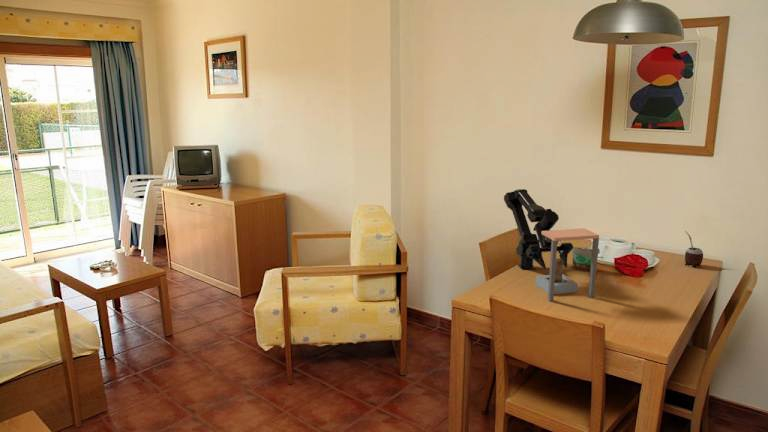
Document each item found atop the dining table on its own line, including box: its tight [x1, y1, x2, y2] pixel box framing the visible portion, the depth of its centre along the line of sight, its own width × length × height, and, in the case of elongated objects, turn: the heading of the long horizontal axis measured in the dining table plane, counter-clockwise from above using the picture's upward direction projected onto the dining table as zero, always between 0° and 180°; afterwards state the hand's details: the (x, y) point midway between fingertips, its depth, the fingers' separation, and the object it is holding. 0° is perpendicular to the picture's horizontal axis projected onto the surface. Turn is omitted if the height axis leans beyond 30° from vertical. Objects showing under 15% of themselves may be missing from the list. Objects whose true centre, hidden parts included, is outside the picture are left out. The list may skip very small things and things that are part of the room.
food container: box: [570, 246, 601, 272], centre depth 237 cm, size 12×6×10 cm, turn 62°
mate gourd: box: [684, 230, 704, 268], centre depth 240 cm, size 8×8×15 cm
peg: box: [555, 257, 564, 283], centre depth 215 cm, size 4×4×12 cm
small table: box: [535, 228, 600, 302], centre depth 210 cm, size 19×18×25 cm
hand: (555, 268), depth 215 cm, fingers open, 9 cm apart
